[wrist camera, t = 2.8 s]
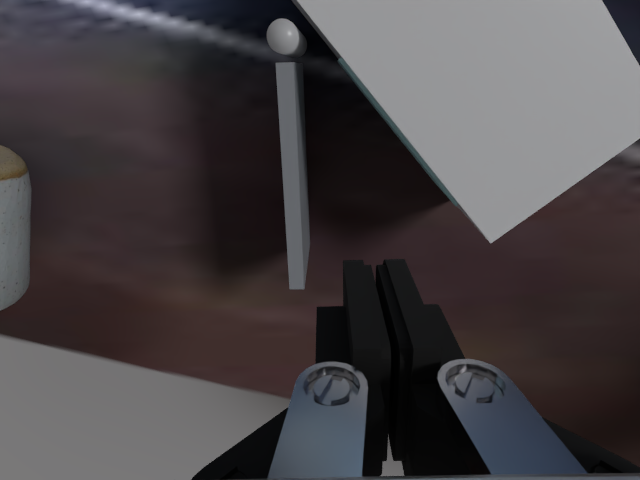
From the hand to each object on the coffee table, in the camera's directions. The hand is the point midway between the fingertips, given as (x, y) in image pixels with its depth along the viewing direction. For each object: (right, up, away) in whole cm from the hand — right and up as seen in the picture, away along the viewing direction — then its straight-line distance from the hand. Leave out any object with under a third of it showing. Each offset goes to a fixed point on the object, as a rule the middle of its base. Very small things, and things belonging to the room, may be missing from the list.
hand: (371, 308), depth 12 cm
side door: (-3, +7, +12) cm, 14 cm away
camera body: (+4, +11, +10) cm, 16 cm away
